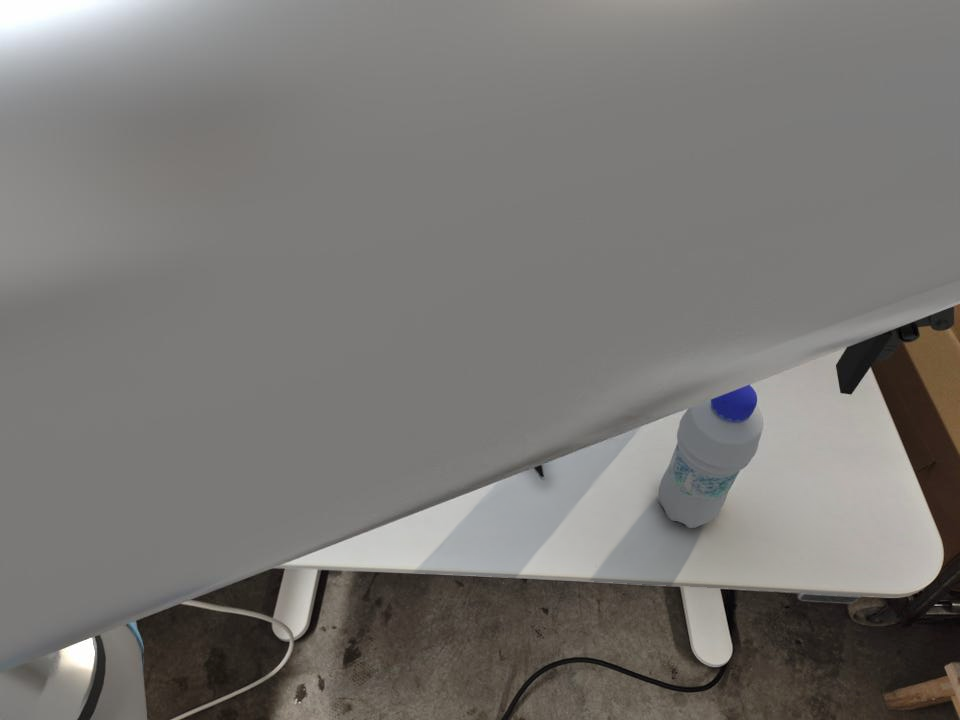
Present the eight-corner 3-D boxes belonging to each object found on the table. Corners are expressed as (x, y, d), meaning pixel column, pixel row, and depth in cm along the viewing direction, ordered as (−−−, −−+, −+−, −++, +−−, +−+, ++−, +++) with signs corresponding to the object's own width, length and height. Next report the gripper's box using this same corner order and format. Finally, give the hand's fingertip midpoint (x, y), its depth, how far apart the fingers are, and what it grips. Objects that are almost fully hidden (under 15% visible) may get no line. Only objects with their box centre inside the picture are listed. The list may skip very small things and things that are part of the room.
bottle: (680, 465, 67) (727, 345, 52) (732, 507, 64) (800, 392, 48) (640, 502, 65) (677, 388, 49) (692, 548, 61) (749, 440, 46)
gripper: (1124, 79, 31) (916, 352, 47) (621, 55, 35) (590, 311, 52) (1197, 162, 26) (939, 433, 42) (608, 122, 31) (579, 380, 47)
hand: (747, 367), depth 47 cm, fingers open, 13 cm apart
